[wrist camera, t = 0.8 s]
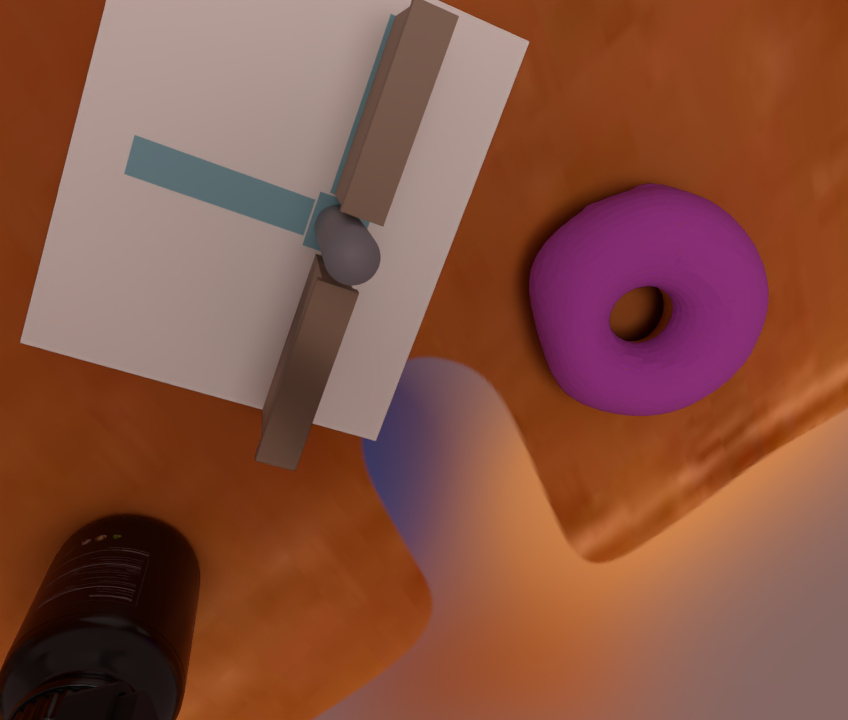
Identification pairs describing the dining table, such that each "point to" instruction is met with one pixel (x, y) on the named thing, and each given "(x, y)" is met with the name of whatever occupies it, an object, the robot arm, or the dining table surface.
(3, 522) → the dining table surface
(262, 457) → the fence panel
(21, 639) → the supplement bottle
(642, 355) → the donut
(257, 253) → the fence base
